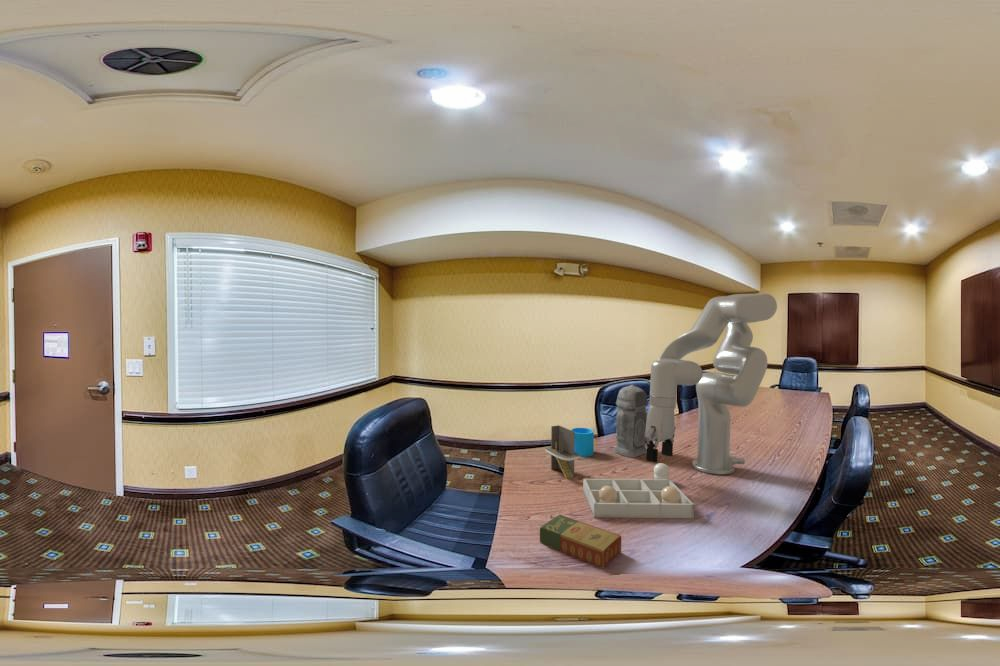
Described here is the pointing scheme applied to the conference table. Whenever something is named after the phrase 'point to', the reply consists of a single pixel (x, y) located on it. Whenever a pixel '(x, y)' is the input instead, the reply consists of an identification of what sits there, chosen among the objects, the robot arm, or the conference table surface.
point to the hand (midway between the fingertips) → (659, 458)
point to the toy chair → (562, 450)
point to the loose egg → (661, 471)
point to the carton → (581, 540)
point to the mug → (584, 441)
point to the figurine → (631, 422)
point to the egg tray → (636, 499)
